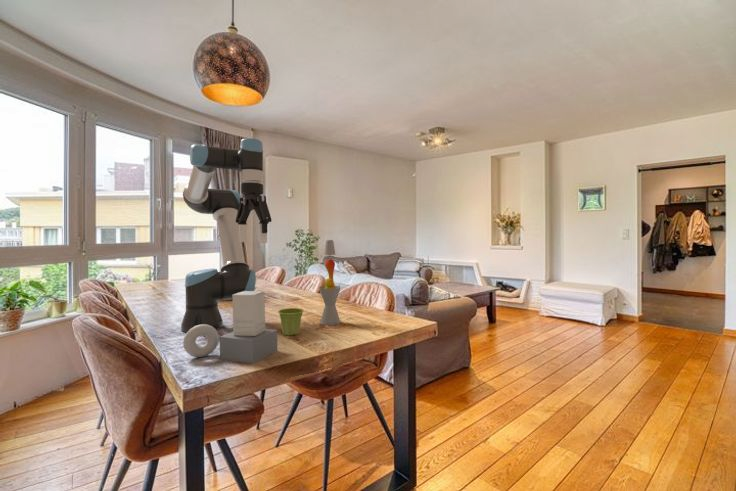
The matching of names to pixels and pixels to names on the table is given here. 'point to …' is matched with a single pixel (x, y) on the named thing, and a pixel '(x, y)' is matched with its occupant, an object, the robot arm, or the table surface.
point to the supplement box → (248, 313)
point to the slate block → (248, 346)
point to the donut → (194, 333)
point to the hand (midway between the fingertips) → (252, 242)
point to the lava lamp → (330, 290)
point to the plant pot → (290, 320)
